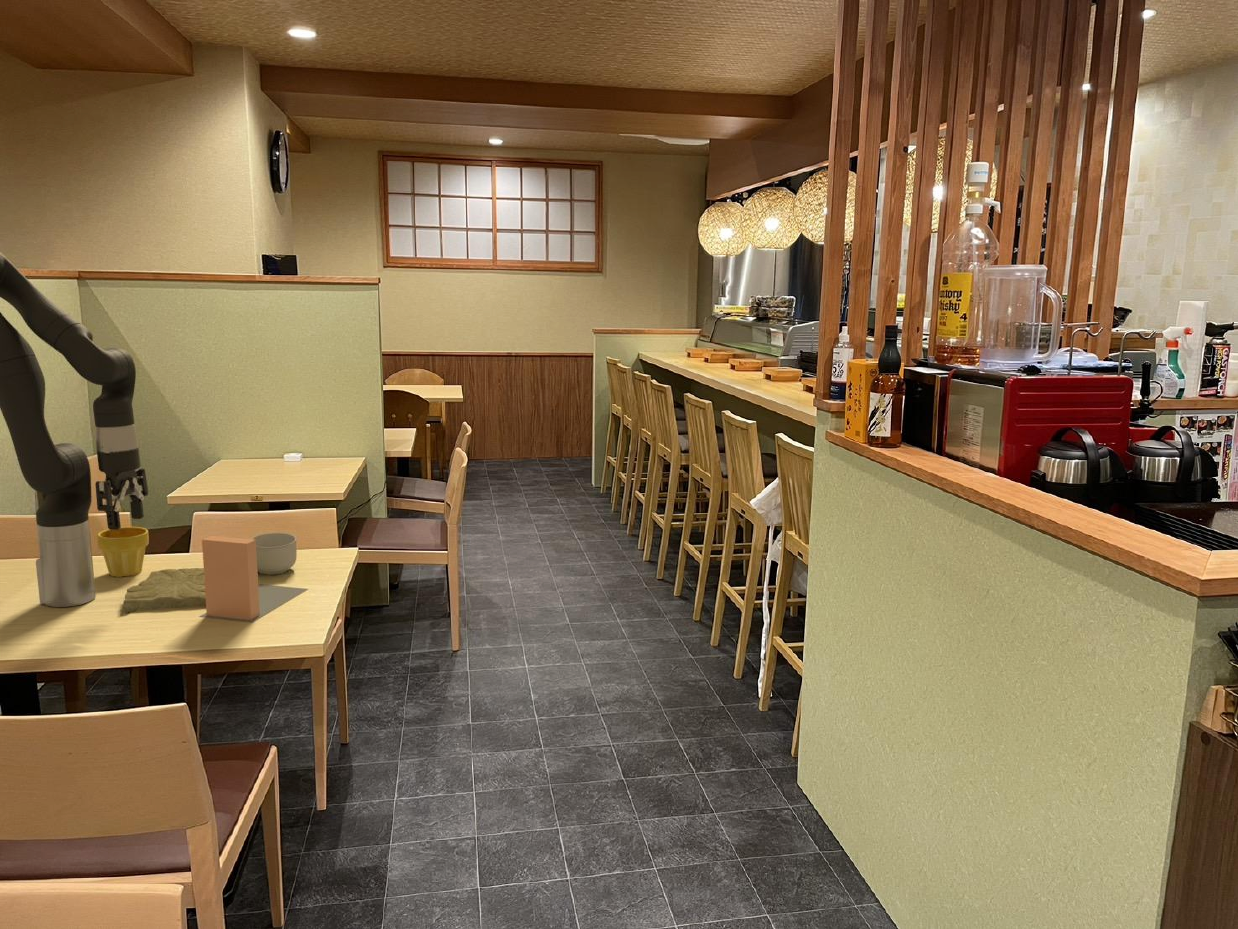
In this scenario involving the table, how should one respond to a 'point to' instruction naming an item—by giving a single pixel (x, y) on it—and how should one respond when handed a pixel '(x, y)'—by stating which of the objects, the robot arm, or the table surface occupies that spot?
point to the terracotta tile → (231, 577)
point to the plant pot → (123, 549)
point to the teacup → (275, 552)
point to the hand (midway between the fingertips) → (126, 523)
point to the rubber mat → (268, 600)
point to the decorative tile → (167, 590)
